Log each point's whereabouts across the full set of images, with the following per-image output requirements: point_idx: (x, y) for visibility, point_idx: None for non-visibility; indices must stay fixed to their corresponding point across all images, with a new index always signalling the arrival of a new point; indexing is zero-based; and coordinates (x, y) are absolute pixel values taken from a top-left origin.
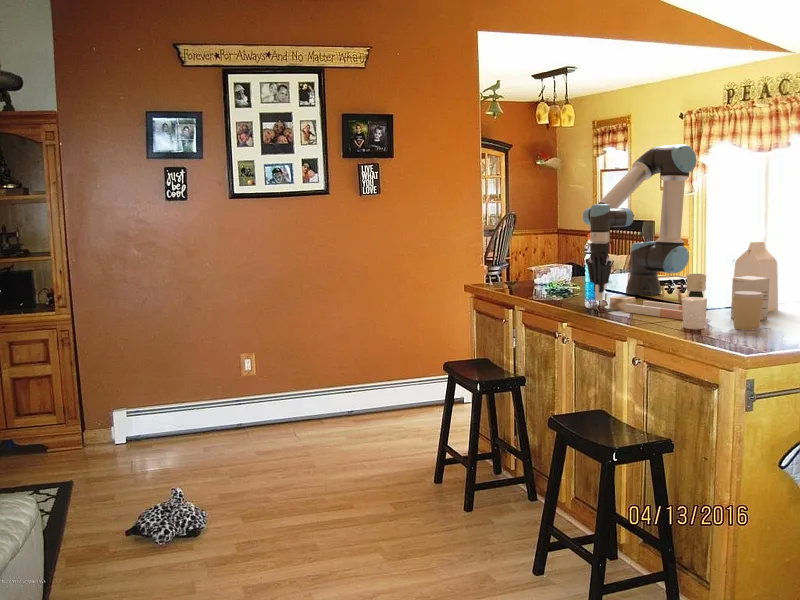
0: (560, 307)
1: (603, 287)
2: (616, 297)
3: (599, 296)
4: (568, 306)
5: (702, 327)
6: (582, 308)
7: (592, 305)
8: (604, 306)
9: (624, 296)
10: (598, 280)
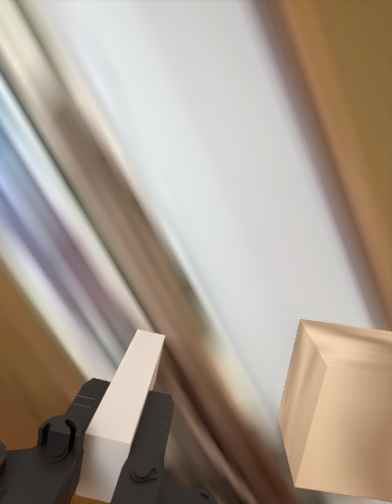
0: None
1: (166, 442)
2: (337, 459)
3: (152, 386)
4: None
5: None
6: None
7: None
8: (215, 370)
9: (381, 386)
10: (51, 493)
